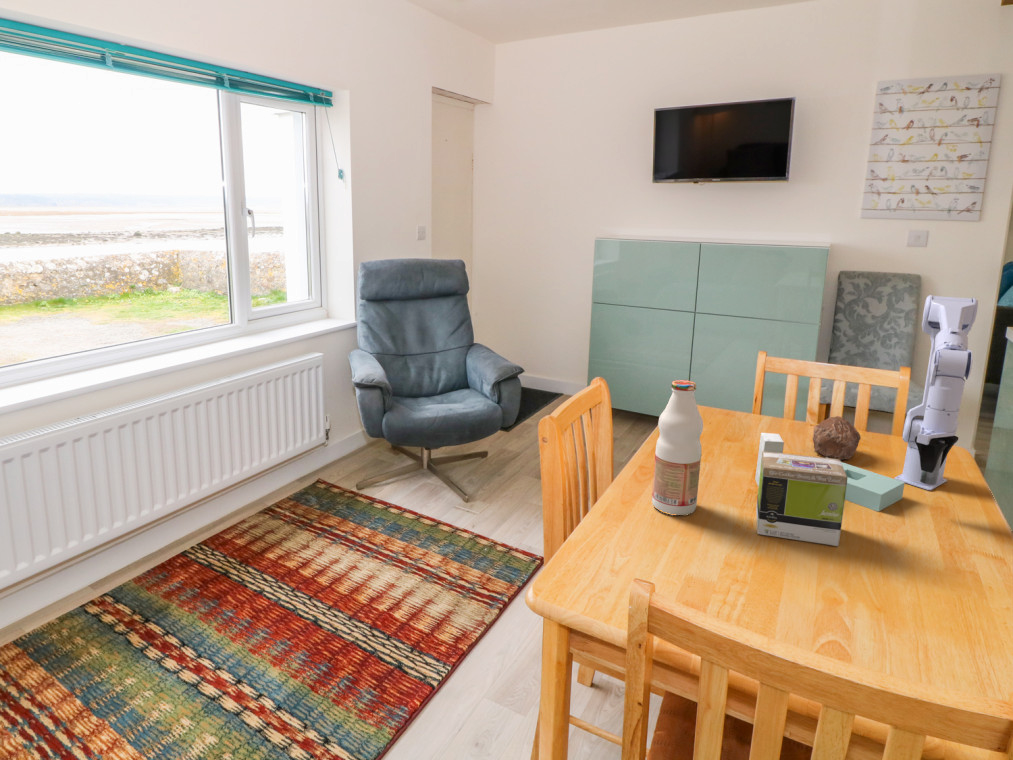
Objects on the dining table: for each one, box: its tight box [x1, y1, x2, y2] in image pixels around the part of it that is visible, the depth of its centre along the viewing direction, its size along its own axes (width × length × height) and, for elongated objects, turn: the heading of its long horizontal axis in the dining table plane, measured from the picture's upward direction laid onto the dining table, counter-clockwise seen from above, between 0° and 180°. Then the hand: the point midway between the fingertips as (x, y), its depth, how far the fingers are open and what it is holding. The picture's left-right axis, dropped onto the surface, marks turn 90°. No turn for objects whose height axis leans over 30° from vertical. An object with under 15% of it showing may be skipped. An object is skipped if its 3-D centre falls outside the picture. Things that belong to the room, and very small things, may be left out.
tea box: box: [756, 451, 848, 547], centre depth 131 cm, size 15×10×15 cm
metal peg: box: [920, 438, 945, 485], centre depth 137 cm, size 3×3×10 cm
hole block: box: [841, 461, 906, 512], centre depth 151 cm, size 11×18×4 cm, turn 36°
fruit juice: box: [651, 379, 704, 516], centre depth 139 cm, size 9×9×28 cm
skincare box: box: [754, 432, 785, 488], centre depth 153 cm, size 6×4×12 cm
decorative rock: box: [812, 415, 862, 461], centre depth 172 cm, size 13×11×10 cm
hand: (930, 469), depth 138 cm, fingers closed on metal peg, 3 cm apart
